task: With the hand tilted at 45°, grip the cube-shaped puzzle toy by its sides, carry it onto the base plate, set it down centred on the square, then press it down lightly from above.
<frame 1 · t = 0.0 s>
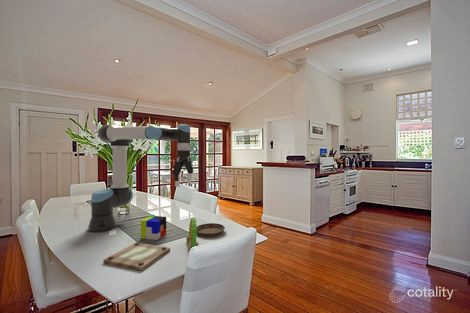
hand: (183, 185, 140), 28 cm above the table, tool pointing down, fingers open, 13 cm apart
plant saucer: (210, 233, 138), on the table
puzzle toy: (153, 236, 132), on the table
base plate: (138, 256, 106), on the table
green upright piece: (192, 247, 118), on the table
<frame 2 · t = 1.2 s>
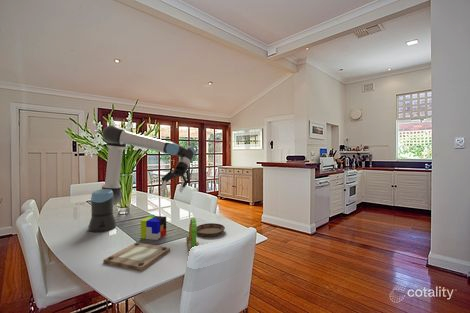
hand: (170, 190, 143), 24 cm above the table, tool tilted 45°, fingers open, 13 cm apart
nothing on the table moved.
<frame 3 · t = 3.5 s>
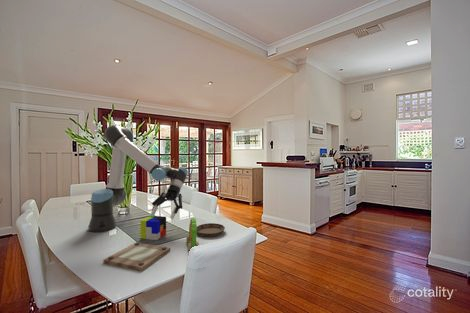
hand: (161, 217, 136), 9 cm above the table, tool tilted 45°, fingers open, 13 cm apart
puzzle toy: (153, 236, 132), on the table, touching gripper
everything else where it was.
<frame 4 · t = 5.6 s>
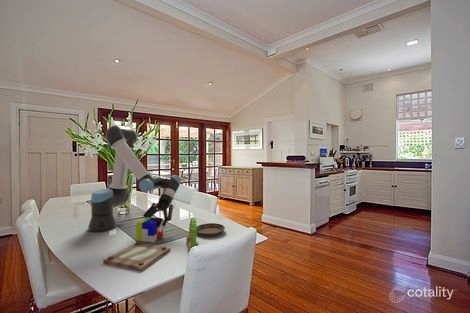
hand: (150, 230, 129), 4 cm above the table, tool tilted 45°, fingers closed on puzzle toy, 11 cm apart
puzzle toy: (150, 238, 128), on the table, touching gripper
everything else where it was.
when the fingers open (7 cm above the table, at t = 12.1 s): puzzle toy stays where it is, resting on base plate.
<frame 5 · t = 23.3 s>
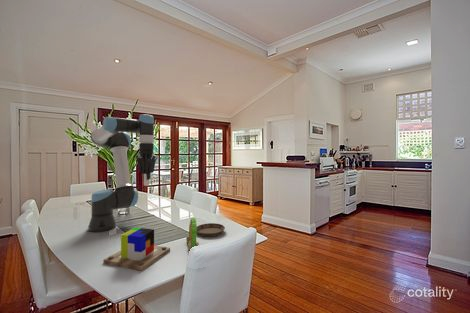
hand: (146, 185, 128), 29 cm above the table, tool pointing down, fingers closed
puzzle toy: (138, 254, 105), point 1 cm above the table, touching base plate
everything else where it was.
at the end: puzzle toy inside the target area on the base plate (0.4 cm from its centre), point 1.4 cm above the base plate's base; puzzle toy tilted 0°; the gripper is holding nothing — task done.
